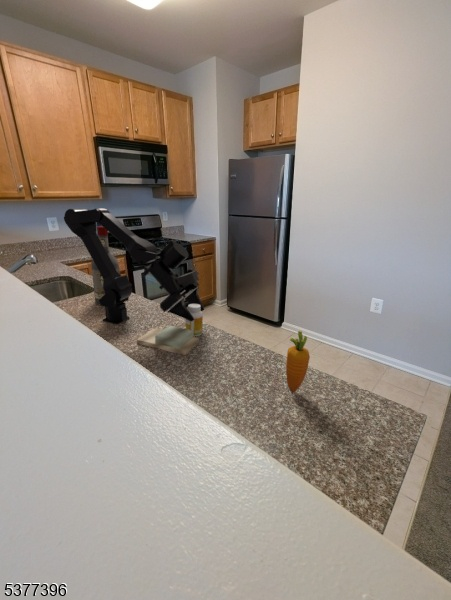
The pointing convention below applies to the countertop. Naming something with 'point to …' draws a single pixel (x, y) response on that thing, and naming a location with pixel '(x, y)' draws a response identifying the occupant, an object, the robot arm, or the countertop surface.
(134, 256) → the robot arm
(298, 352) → the carrot
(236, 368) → the countertop surface
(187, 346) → the column base
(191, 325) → the supplement bottle
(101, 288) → the liquor
